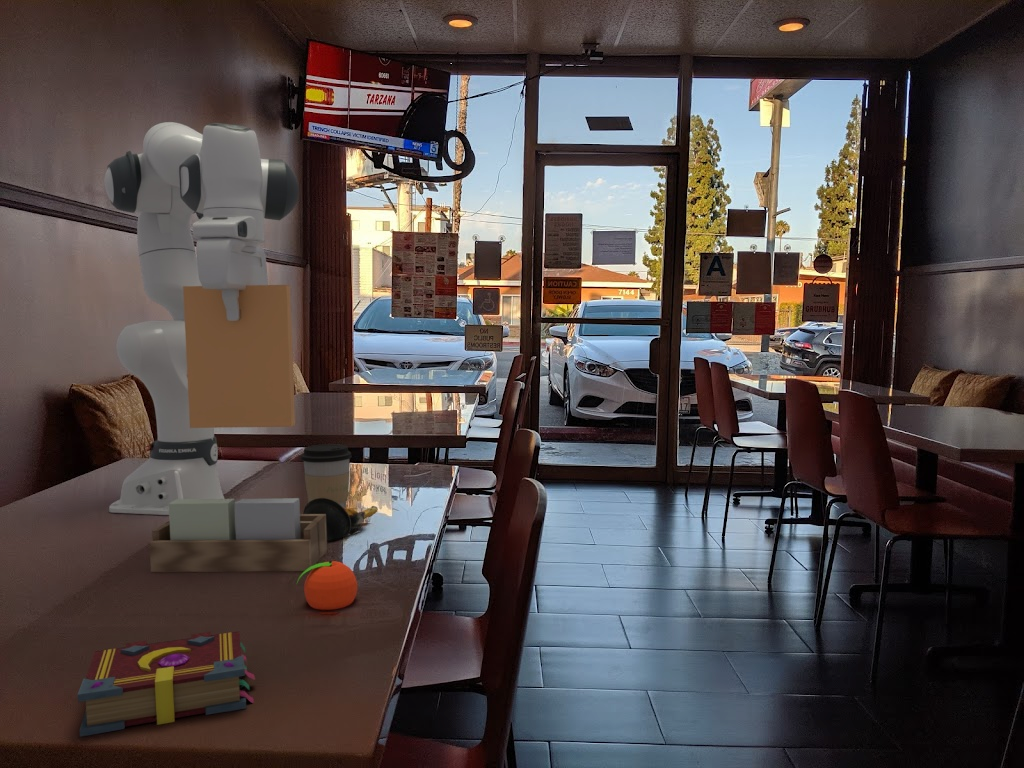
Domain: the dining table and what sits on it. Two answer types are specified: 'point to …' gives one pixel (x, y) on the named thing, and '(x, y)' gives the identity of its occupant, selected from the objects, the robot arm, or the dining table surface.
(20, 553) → the dining table surface
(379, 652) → the dining table surface
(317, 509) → the fried shrimp in bowl
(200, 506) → the offcut sage
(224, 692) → the decorative book
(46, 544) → the dining table surface
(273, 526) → the offcut slate
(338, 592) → the clementine
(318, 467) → the coffee cup
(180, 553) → the rack
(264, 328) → the tall sheet
